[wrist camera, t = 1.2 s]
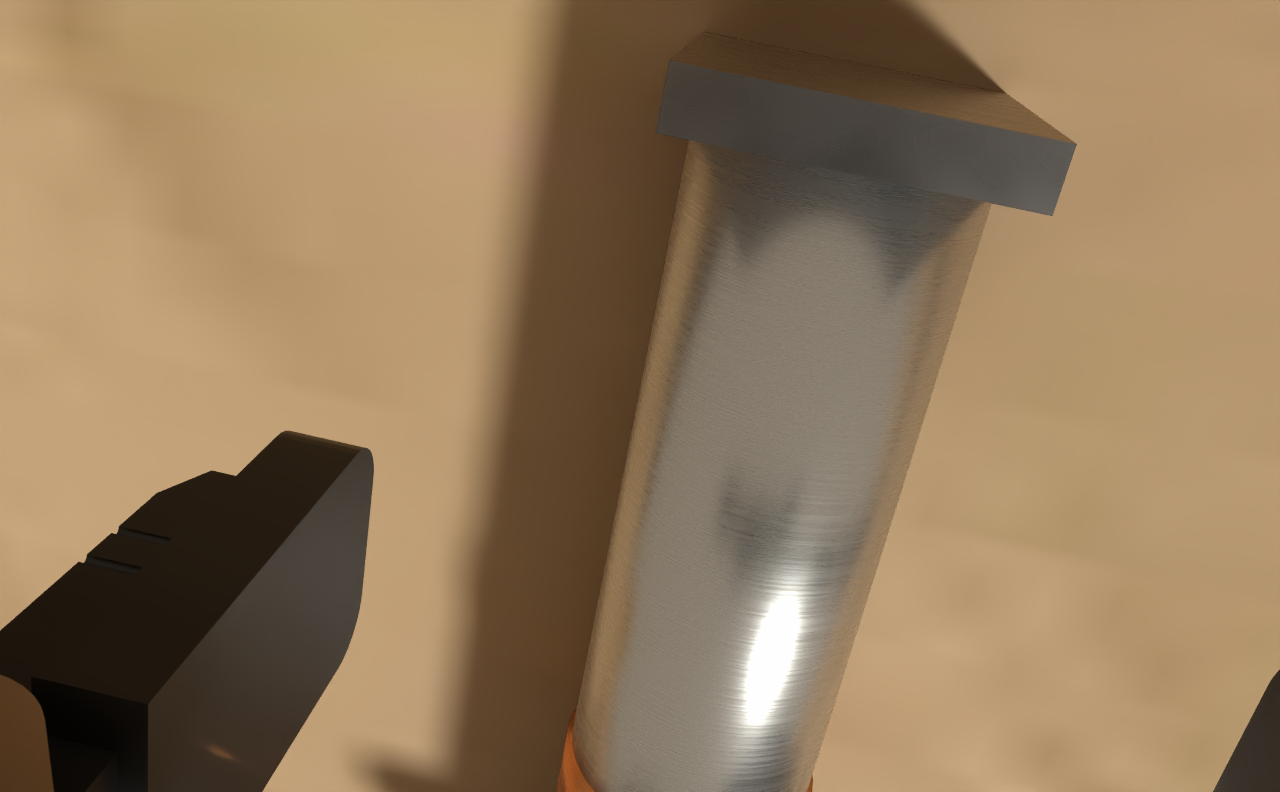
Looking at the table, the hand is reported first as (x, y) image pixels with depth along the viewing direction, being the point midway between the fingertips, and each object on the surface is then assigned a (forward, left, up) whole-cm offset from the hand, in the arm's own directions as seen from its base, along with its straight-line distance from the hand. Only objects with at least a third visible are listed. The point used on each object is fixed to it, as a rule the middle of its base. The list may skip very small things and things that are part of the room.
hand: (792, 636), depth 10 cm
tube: (0, +7, -13) cm, 15 cm away
